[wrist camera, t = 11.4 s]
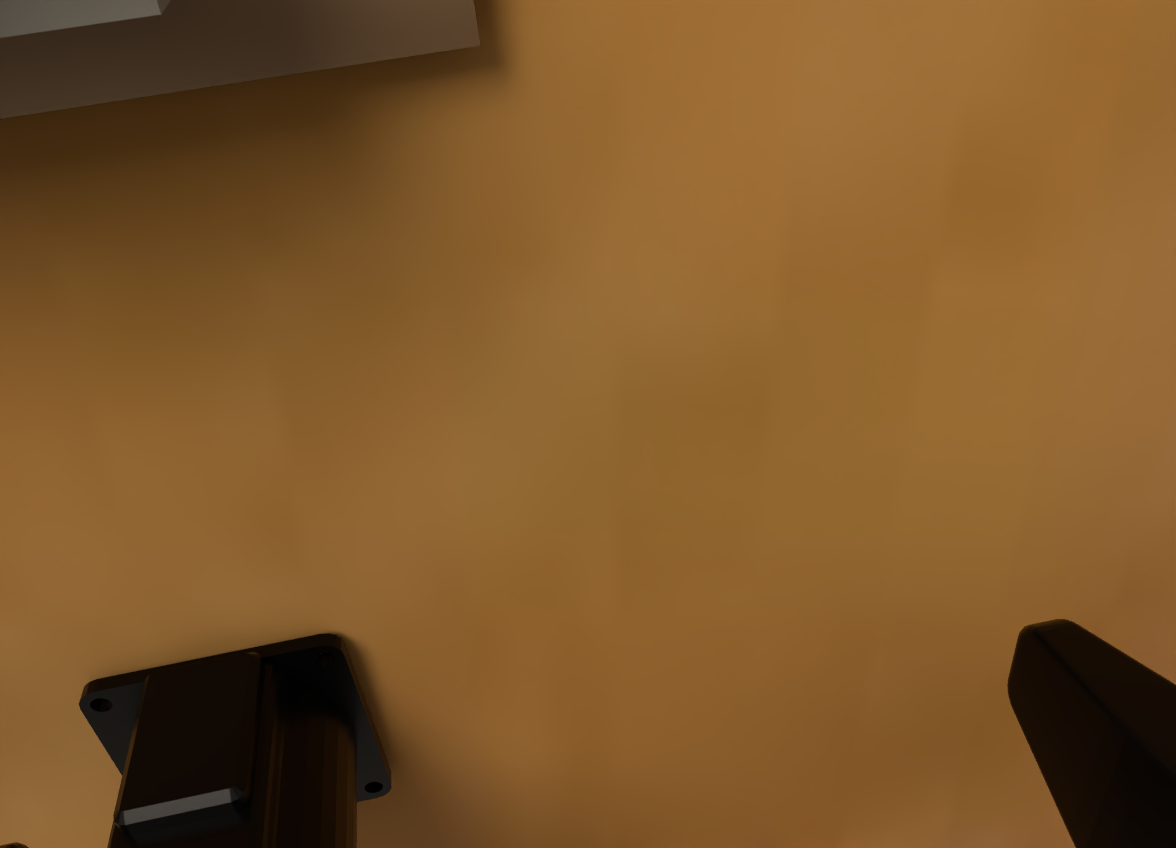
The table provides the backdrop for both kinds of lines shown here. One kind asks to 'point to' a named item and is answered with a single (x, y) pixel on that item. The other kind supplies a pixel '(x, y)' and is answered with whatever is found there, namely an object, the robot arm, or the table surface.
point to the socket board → (203, 44)
